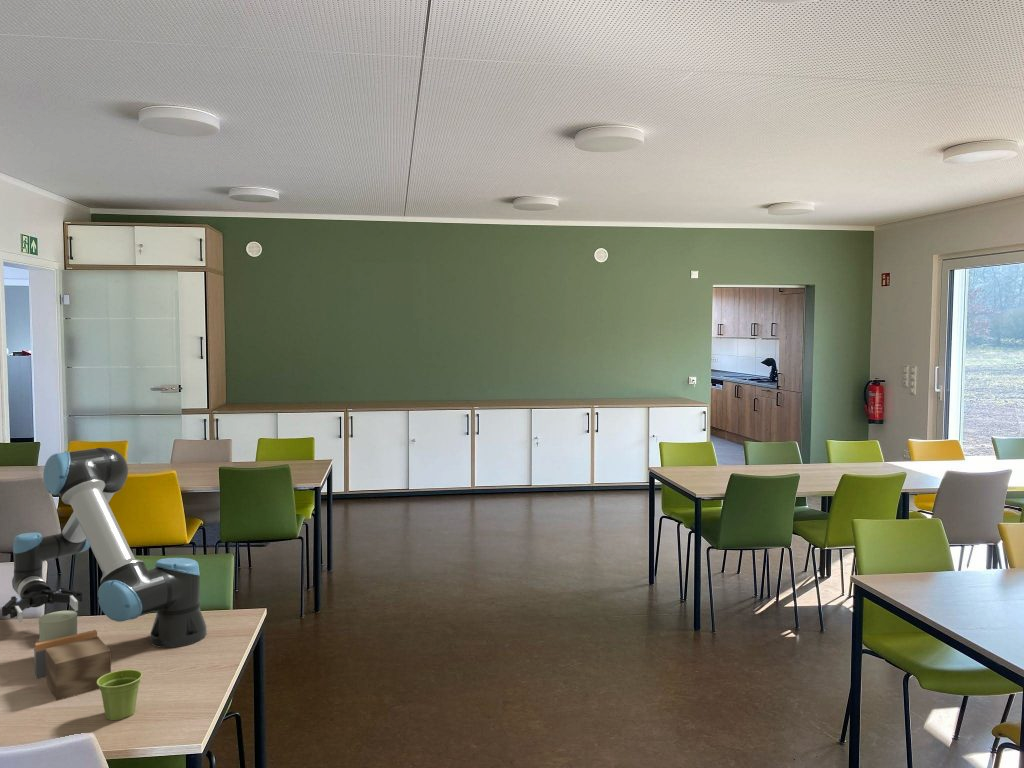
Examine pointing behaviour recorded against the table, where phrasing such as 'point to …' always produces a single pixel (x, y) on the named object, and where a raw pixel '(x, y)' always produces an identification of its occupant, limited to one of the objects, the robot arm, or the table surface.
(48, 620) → the can
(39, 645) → the terracotta bar
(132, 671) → the plant pot
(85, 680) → the walnut stand
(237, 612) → the table surface
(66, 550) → the robot arm
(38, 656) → the hurdle posts
